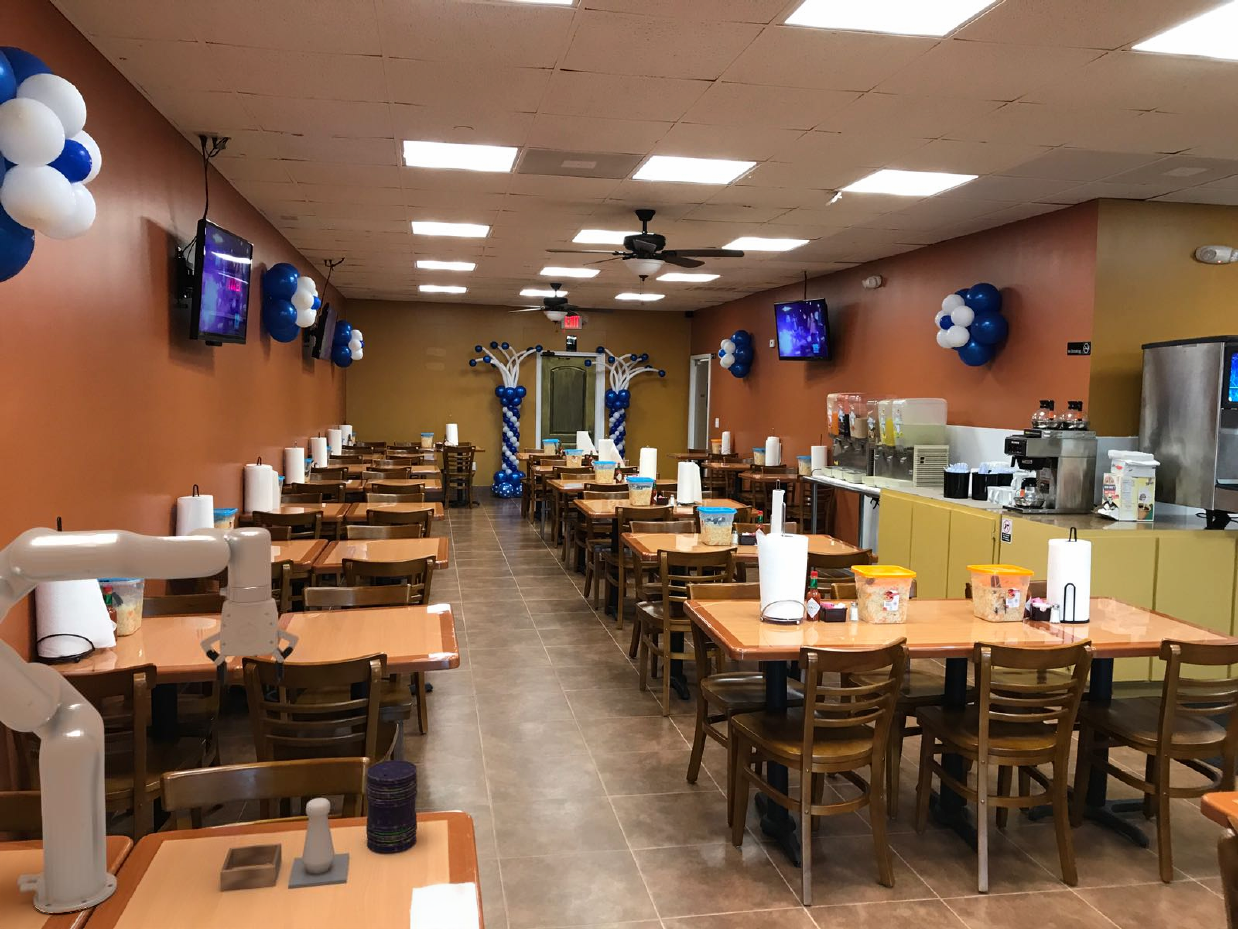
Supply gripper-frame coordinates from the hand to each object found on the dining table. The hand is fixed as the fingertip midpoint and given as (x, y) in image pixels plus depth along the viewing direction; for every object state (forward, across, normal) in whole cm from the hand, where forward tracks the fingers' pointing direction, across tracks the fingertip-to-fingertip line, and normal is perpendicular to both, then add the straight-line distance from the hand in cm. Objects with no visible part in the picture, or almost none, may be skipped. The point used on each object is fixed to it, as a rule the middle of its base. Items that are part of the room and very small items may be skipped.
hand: (250, 682), depth 173 cm
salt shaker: (+34, +13, -8) cm, 37 cm away
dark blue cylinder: (+34, +26, +1) cm, 43 cm away
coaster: (+34, +13, -8) cm, 38 cm away
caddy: (+34, +1, -7) cm, 35 cm away
